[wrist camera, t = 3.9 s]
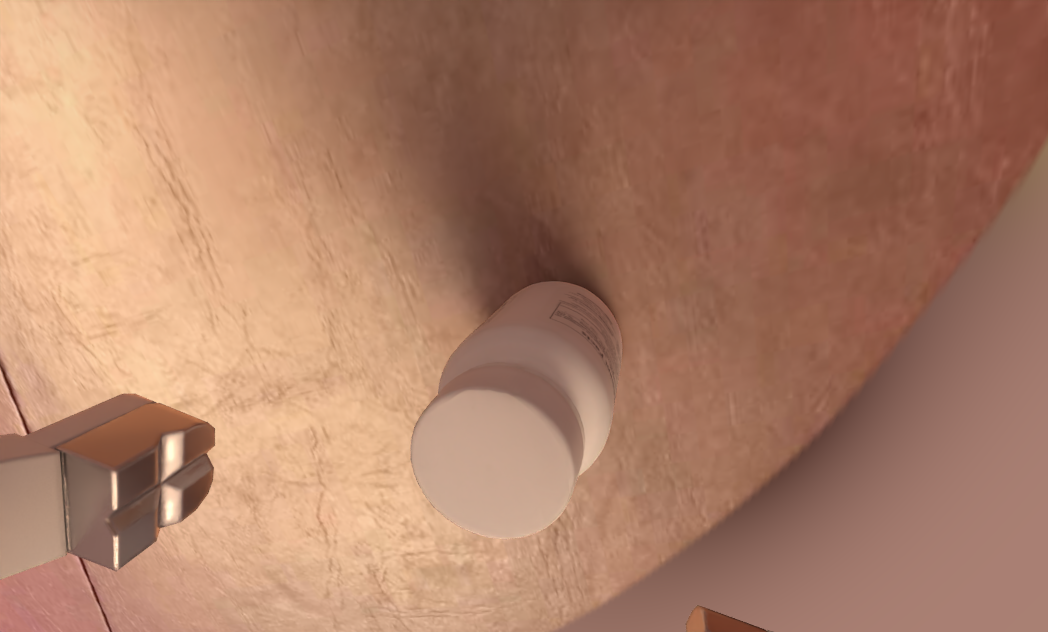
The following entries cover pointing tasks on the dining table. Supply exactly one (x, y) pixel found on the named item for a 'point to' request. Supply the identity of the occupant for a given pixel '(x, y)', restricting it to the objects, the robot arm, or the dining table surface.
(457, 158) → the dining table surface
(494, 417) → the pill bottle
